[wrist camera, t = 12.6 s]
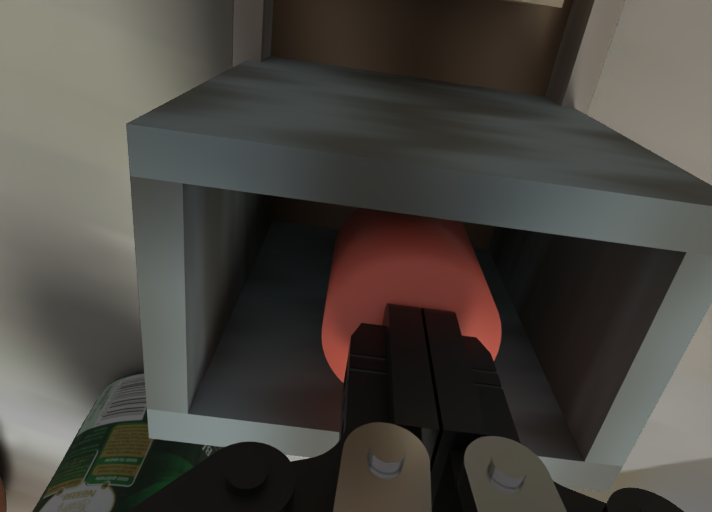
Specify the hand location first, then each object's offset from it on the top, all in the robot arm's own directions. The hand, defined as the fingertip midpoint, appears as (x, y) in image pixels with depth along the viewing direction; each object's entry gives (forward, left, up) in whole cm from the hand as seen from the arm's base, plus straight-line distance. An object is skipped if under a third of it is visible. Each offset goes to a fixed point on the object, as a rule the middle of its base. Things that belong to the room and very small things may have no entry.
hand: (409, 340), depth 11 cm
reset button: (0, 0, -4) cm, 4 cm away
